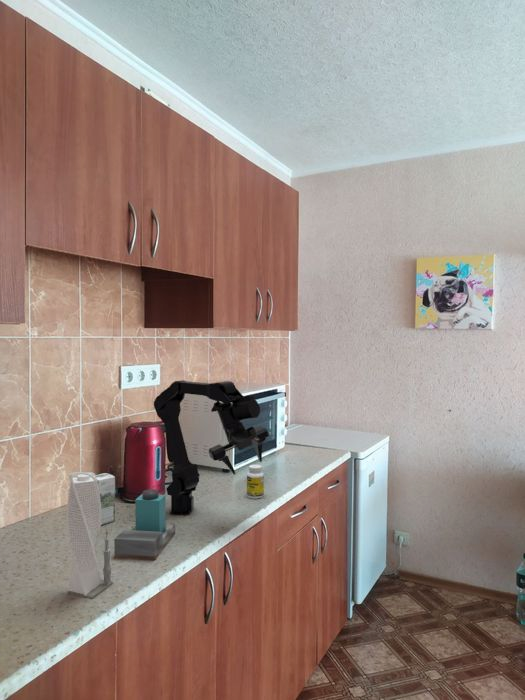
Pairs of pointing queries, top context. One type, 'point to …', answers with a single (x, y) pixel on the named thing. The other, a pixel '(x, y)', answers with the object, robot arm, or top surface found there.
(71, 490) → the skyscraper
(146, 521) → the teal tall block
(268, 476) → the top surface
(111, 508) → the syrup box
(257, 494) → the pill bottle
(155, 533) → the mount
